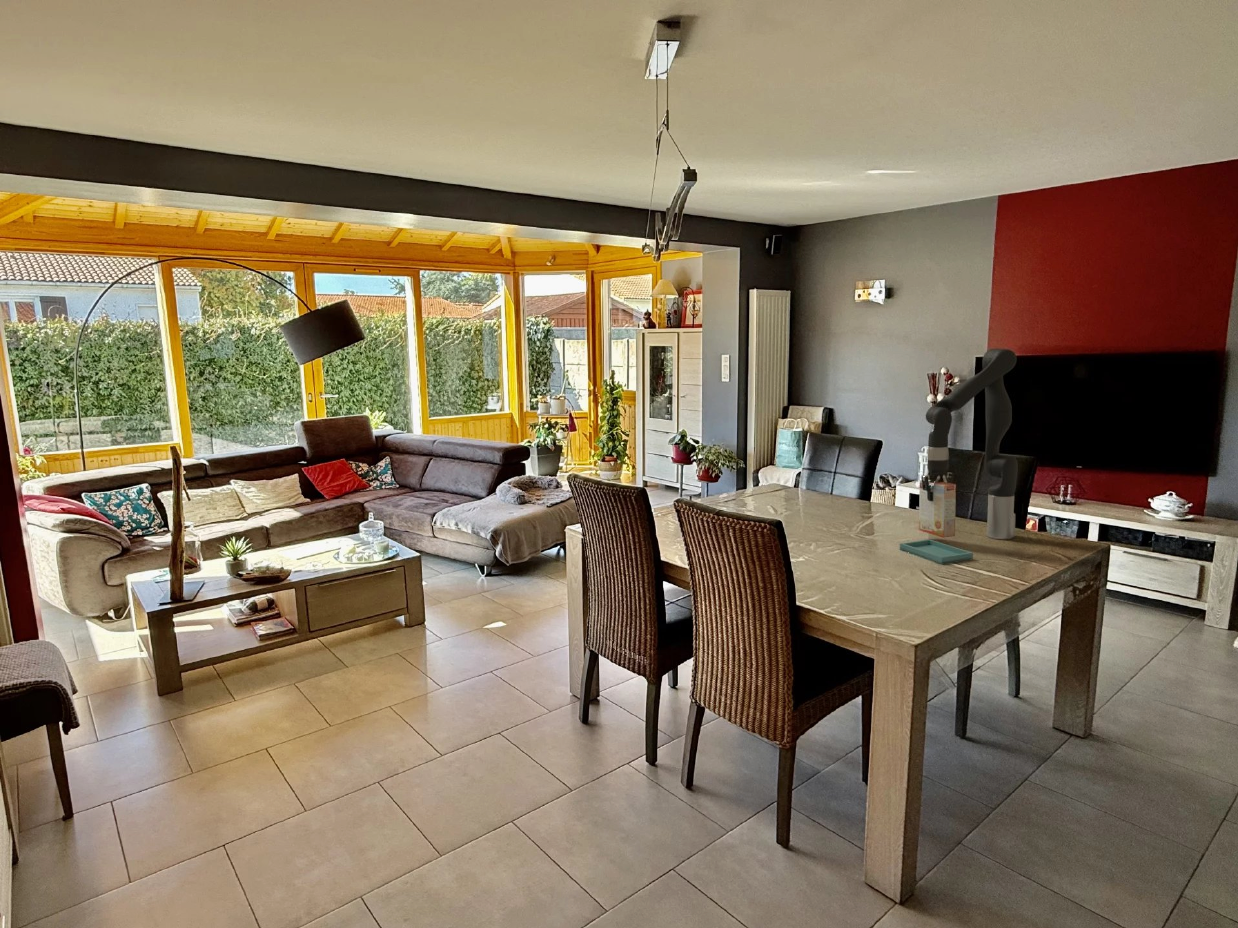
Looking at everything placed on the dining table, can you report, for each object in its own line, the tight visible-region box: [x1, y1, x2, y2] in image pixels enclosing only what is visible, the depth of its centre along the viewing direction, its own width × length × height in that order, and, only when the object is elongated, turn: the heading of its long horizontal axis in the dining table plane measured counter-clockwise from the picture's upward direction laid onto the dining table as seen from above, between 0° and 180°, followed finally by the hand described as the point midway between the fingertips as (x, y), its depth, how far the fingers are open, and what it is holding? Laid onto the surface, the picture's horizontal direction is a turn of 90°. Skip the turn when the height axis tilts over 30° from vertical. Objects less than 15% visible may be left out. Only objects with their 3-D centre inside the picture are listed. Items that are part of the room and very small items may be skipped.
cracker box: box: [918, 479, 957, 539], centre depth 290 cm, size 14×6×21 cm, turn 18°
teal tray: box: [899, 538, 974, 565], centre depth 274 cm, size 14×22×2 cm, turn 19°
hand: (937, 499), depth 289 cm, fingers closed on cracker box, 6 cm apart
